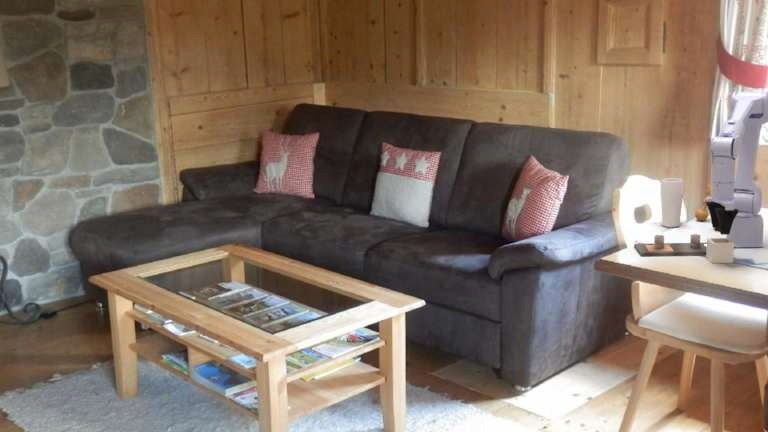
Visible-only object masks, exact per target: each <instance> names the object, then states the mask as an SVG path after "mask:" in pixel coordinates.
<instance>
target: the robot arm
mask: <svg viewBox="0 0 768 432" xmlns="http://www.w3.org/2000/svg"><path fill="white" fill-rule="evenodd" d="M729 106H730V110H731V113H732V114H731V117H730V119H728V120H726V121H725V122H724V123H723V125H722V127H721V129H720V131H719V133H718V135H717V136H715V137H713V138H712V139H711V141H710V143H709V156H710V164H711V184H710V186H711V197H706V196H705V198H706V200H707V202H706V205H707V207H706V208H708V211H709V212H708V213H709V215H710V221H711V225H712V226H711V227H712V228H714V229H715V228H720V231H719V233H720V235H723V236H724V235H726V237H725V238H729V239H730V240H731V241H732V242H733V243H734V247H735V248H763V247H764V227H765V226H764V225H765V224H764V218H763V216H762V215H761V214H760V212H761V208H762V205H763V204H762V203H763V199H762V197H763V190H762V188H761V187H760V186H759V185H758V184H756V182H754V177H755V168H756V162H757V155H758V150H759V149H758V148H759V141H760V135H761V131H762V128H763V125H764V124H766V123H768V90H767V91H739V90H736V91H734V92H733V93H732V94H731V97H730V105H729ZM737 158H738V159H737ZM736 160H737V165H736Z"/></svg>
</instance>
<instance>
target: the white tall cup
mask: <svg viewBox="0 0 768 432" xmlns="http://www.w3.org/2000/svg"><path fill="white" fill-rule="evenodd" d="M660 181H661V182H660V200H661V201H660V202H661V203H660V204H661V220H662V221H661V225H662V226H663V227H664V228H678V227H679V226H680V224H681V215H682V213H681V212H682V204H683V198H684V178H683V179H682V178H678V177H667V178H662V179H661V180H660Z"/></svg>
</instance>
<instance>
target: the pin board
mask: <svg viewBox="0 0 768 432" xmlns="http://www.w3.org/2000/svg"><path fill="white" fill-rule="evenodd" d="M689 241H690V242H670V243H669V242H668V243H667V242H666V243H665V236H664V235H662V234H656V235H654V243H633V245H634V246H633V247H634V249H635V250H636V251H637V253H638V254H639V256H640V257H670V256H671V257H680V256H681V257H683V256H684V257H688V256H690V257H691V256H697V257H698V256H706V249H707V247H706V246H704V244H707V242H701V235H700V234H696V233H693V234H690V240H689Z"/></svg>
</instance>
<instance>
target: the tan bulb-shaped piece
mask: <svg viewBox="0 0 768 432" xmlns="http://www.w3.org/2000/svg"><path fill="white" fill-rule="evenodd" d="M706 188H707V192H706V193H707V194H706V196H705V198H703V200H702V203H703V205H704V206H703V207H701V208H698V209H697V210H695V213H694V216H695V218H696V220H698V221H700V222H703V221H705V220H708V218H709V212H708V210H706V209H707V208H708V207H707V205H706V202H708V201H707V200H706V197H711V184H707V185H706Z"/></svg>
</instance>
